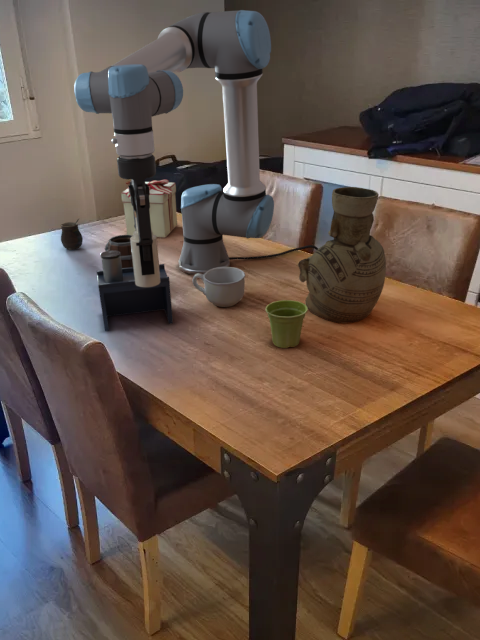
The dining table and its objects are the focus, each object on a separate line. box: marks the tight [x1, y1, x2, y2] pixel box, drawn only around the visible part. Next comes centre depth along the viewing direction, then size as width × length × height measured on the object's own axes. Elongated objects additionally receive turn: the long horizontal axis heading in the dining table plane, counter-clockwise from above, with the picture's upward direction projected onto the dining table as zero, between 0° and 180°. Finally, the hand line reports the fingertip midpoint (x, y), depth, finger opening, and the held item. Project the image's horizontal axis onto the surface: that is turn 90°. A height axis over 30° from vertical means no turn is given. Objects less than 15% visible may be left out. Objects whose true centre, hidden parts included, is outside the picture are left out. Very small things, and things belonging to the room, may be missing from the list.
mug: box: [104, 234, 133, 268], centre depth 175 cm, size 16×12×15 cm
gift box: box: [120, 179, 178, 239], centre depth 218 cm, size 17×18×17 cm
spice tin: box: [99, 250, 123, 283], centre depth 153 cm, size 5×5×7 cm
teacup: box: [191, 266, 246, 308], centre depth 167 cm, size 14×11×8 cm
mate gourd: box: [60, 218, 84, 251], centre depth 209 cm, size 7×8×10 cm
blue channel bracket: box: [96, 263, 174, 332], centre depth 158 cm, size 17×10×12 cm, turn 101°
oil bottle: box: [130, 211, 161, 287], centre depth 135 cm, size 6×6×15 cm
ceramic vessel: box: [297, 186, 387, 324], centre depth 151 cm, size 19×21×30 cm
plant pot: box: [265, 299, 309, 349], centre depth 145 cm, size 9×9×9 cm
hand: (146, 269), depth 138 cm, fingers closed on oil bottle, 6 cm apart
